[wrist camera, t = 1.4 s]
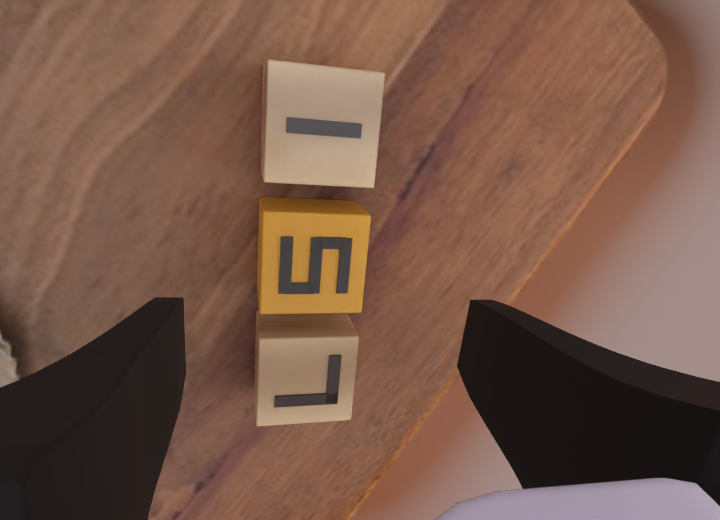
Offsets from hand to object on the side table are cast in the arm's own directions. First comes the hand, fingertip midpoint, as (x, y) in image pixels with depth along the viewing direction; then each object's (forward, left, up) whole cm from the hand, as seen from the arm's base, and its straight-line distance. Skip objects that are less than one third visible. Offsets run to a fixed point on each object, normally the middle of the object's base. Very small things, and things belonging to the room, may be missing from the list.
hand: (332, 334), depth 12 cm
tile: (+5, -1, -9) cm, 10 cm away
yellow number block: (0, -1, -9) cm, 9 cm away
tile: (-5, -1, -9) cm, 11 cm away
